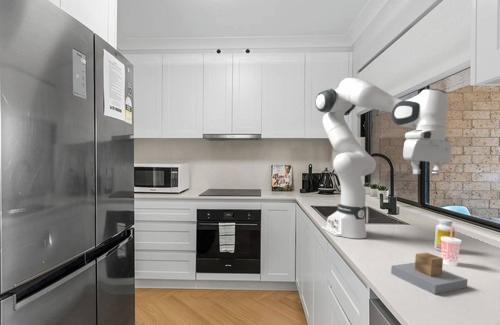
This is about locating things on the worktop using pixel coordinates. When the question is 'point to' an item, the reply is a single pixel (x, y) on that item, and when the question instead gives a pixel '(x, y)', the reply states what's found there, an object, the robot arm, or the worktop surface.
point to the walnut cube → (428, 264)
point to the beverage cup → (450, 249)
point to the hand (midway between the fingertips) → (425, 174)
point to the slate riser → (429, 279)
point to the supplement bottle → (442, 232)
